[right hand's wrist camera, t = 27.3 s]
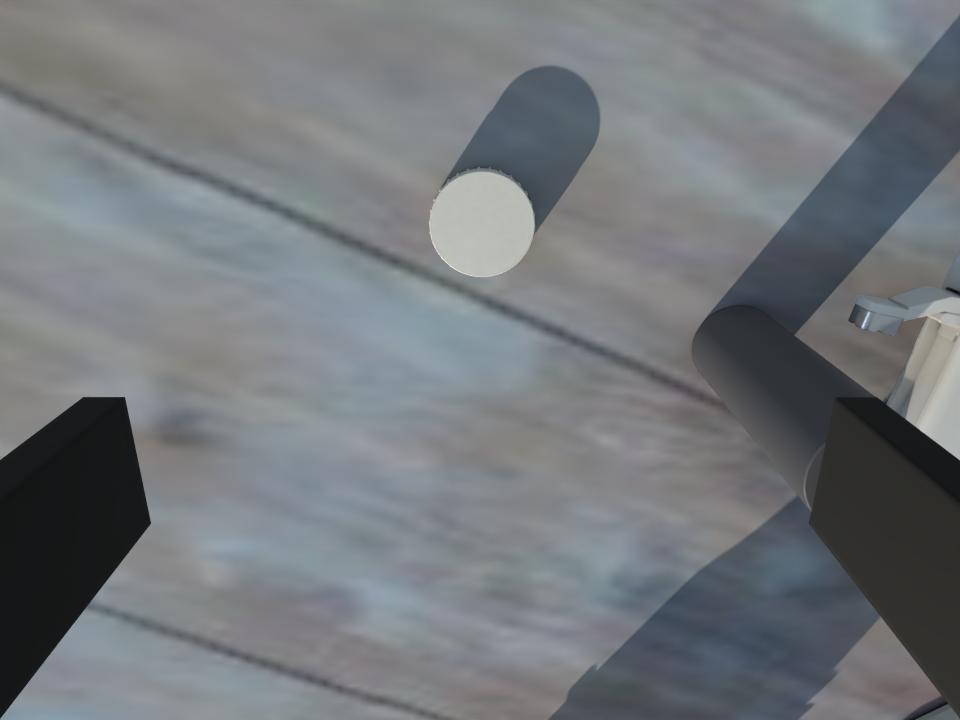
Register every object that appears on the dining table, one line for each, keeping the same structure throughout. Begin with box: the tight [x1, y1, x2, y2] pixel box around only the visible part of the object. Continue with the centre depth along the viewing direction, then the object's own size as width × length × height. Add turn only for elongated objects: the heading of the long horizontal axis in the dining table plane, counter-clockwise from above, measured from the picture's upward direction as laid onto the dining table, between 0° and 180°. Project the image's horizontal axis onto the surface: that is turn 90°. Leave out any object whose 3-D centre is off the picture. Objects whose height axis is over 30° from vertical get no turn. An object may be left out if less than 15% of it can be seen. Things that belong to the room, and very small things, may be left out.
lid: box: [429, 167, 536, 277], centre depth 38 cm, size 6×6×2 cm
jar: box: [692, 305, 875, 511], centre depth 34 cm, size 5×5×17 cm
